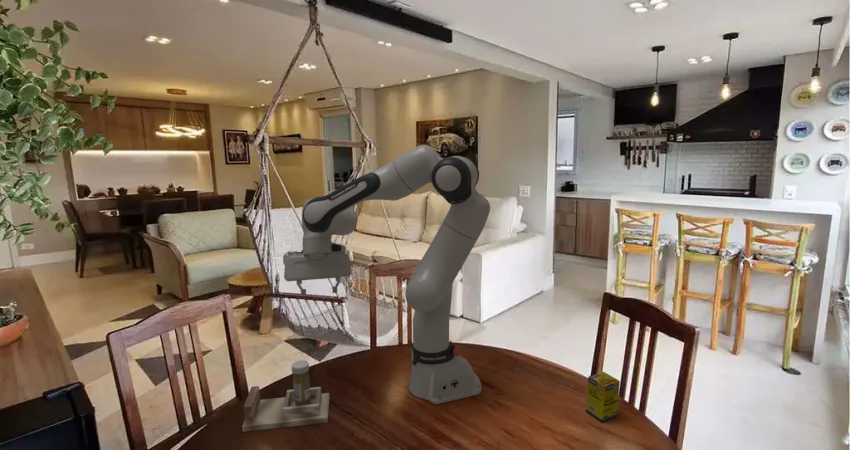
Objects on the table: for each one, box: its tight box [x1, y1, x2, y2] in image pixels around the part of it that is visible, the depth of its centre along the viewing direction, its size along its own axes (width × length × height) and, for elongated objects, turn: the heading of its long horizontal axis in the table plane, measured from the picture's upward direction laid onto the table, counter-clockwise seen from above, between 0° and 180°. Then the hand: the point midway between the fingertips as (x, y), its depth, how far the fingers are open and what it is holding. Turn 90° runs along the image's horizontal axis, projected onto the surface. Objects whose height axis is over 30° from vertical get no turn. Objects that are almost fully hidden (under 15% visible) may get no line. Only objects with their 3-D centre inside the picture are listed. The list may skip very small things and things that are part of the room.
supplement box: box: [585, 371, 621, 423], centre depth 121 cm, size 6×6×11 cm
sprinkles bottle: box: [291, 360, 311, 406], centre depth 123 cm, size 5×5×14 cm
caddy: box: [241, 385, 331, 433], centre depth 123 cm, size 22×12×6 cm, turn 100°
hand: (319, 293), depth 135 cm, fingers open, 8 cm apart
